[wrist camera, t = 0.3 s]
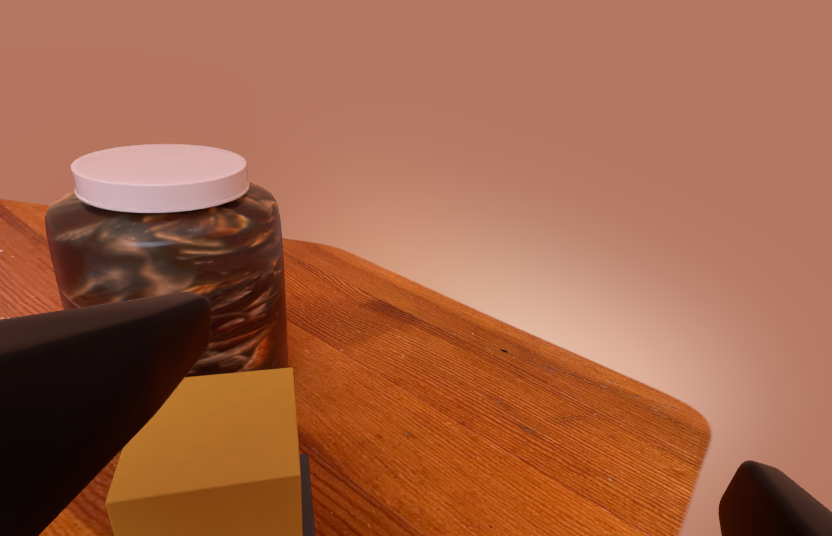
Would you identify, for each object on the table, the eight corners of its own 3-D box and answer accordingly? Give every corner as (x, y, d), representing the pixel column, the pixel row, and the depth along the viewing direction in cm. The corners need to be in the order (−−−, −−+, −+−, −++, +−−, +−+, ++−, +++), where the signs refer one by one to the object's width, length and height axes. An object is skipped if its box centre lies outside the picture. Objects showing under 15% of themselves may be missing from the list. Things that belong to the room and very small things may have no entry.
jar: (250, 319, 41) (236, 132, 34) (316, 404, 33) (314, 179, 26) (80, 365, 34) (21, 144, 28) (108, 486, 26) (35, 213, 19)
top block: (304, 581, 17) (300, 474, 14) (135, 615, 15) (103, 503, 13) (296, 463, 21) (293, 366, 19) (164, 482, 20) (144, 380, 17)
